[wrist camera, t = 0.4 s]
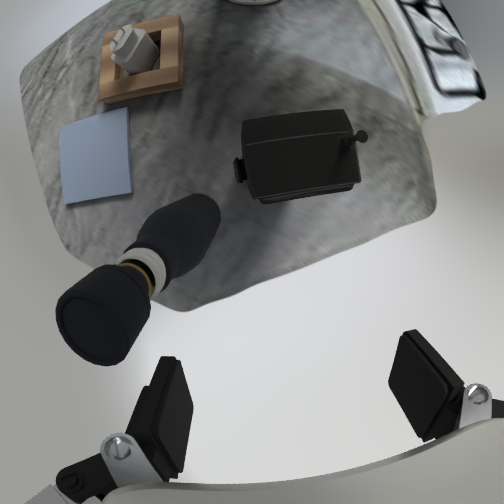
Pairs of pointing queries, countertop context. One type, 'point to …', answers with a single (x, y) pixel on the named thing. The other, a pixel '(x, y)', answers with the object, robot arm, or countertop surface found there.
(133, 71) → the power adapter
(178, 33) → the walnut collar
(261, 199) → the portable radio
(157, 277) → the black water bottle
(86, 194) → the blue square plate
